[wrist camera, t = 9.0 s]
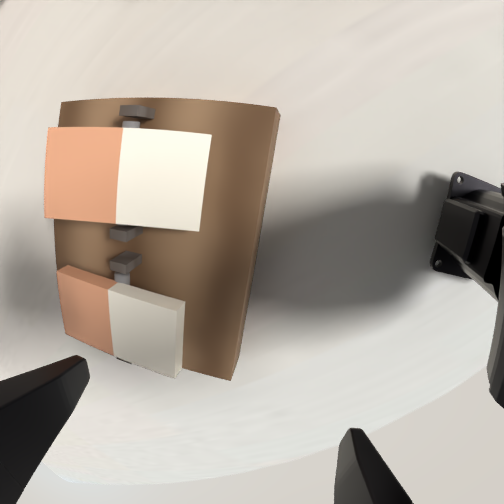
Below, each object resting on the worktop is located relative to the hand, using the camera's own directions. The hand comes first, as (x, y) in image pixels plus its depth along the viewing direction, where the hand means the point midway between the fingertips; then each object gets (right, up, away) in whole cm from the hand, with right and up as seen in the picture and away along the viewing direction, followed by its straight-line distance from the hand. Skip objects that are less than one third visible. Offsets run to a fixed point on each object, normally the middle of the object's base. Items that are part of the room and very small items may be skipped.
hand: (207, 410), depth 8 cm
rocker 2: (-7, +1, +10) cm, 12 cm away
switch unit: (-6, +6, +13) cm, 15 cm away
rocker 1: (-6, +9, +7) cm, 13 cm away
